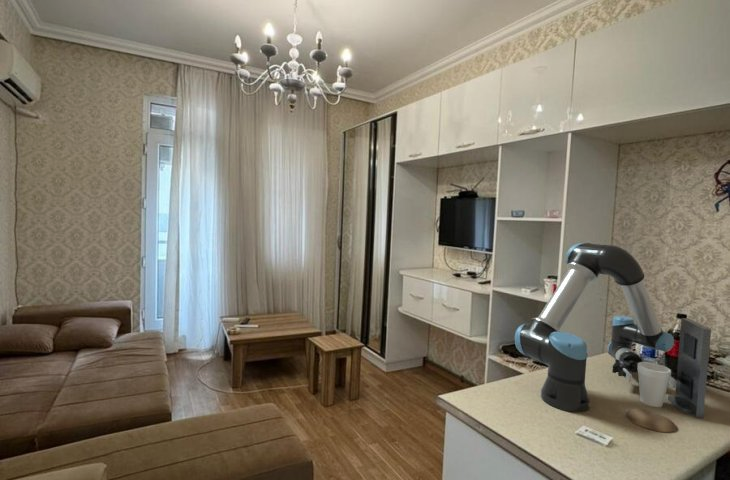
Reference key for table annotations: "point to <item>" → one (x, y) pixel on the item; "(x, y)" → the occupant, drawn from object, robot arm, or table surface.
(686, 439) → the table surface
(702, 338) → the post
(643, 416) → the coaster
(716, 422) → the table surface
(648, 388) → the foam cup
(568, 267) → the robot arm
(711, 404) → the table surface
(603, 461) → the table surface
